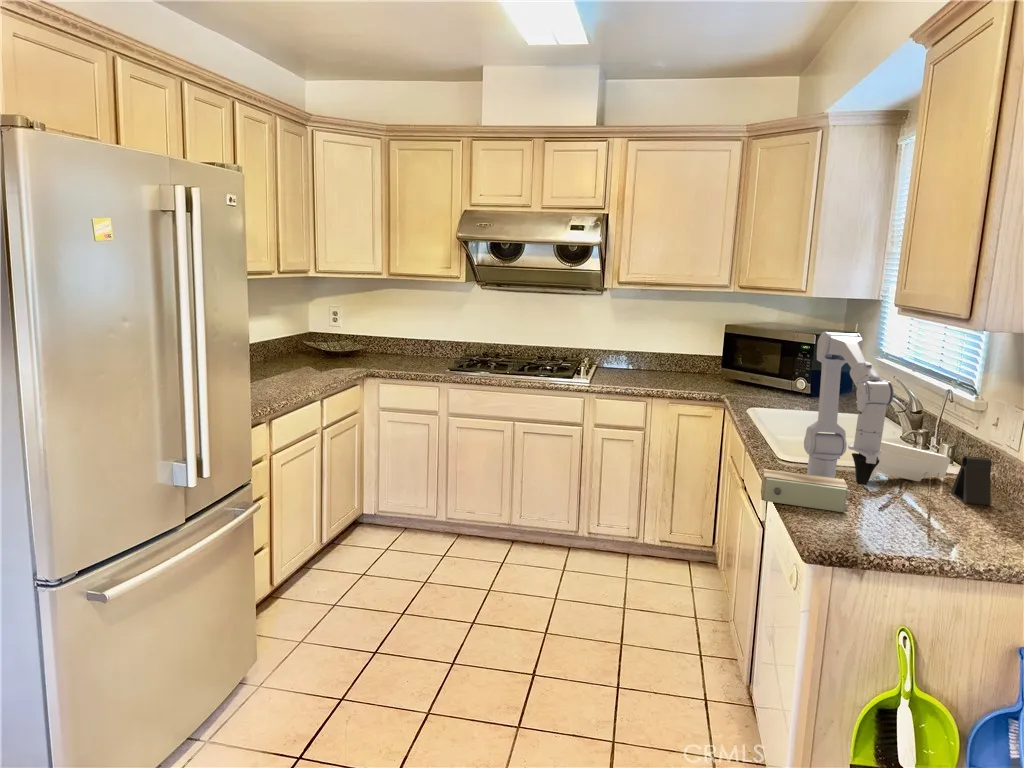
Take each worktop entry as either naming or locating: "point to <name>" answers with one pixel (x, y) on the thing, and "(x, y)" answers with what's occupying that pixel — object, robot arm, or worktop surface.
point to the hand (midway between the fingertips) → (861, 483)
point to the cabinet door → (806, 495)
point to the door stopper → (973, 481)
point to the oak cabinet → (800, 479)
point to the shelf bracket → (910, 462)
